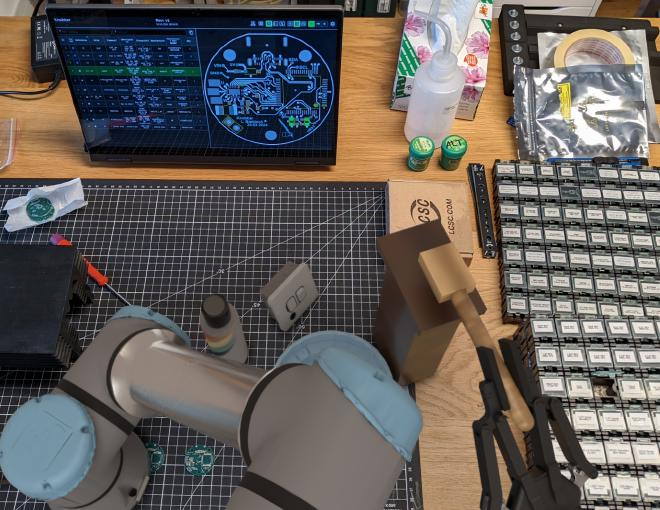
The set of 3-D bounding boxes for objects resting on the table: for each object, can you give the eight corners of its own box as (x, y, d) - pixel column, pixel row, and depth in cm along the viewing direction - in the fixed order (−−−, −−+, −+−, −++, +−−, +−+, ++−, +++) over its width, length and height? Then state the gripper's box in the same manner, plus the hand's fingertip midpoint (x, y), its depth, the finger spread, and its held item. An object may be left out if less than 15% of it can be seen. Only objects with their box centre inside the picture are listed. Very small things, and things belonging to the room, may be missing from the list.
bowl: (293, 479, 94) (291, 472, 89) (256, 365, 103) (253, 352, 98) (409, 435, 98) (413, 426, 93) (364, 329, 107) (366, 315, 101)
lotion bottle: (231, 331, 106) (213, 278, 89) (255, 351, 104) (242, 301, 87) (207, 356, 104) (184, 306, 86) (232, 377, 102) (213, 330, 85)
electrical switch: (285, 334, 106) (278, 308, 98) (263, 317, 108) (254, 291, 100) (319, 295, 110) (315, 268, 102) (297, 280, 112) (291, 252, 104)
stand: (394, 402, 100) (420, 332, 74) (362, 327, 107) (376, 237, 81) (444, 384, 102) (487, 309, 76) (410, 311, 108) (438, 218, 82)
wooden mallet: (507, 440, 64) (512, 435, 62) (417, 260, 74) (419, 252, 72) (544, 425, 65) (550, 420, 63) (450, 249, 75) (453, 241, 73)
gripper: (480, 564, 68) (418, 362, 67) (597, 513, 71) (539, 318, 70) (512, 600, 61) (443, 374, 60) (641, 542, 64) (577, 325, 63)
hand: (495, 344), depth 65 cm, fingers closed on wooden mallet, 2 cm apart
